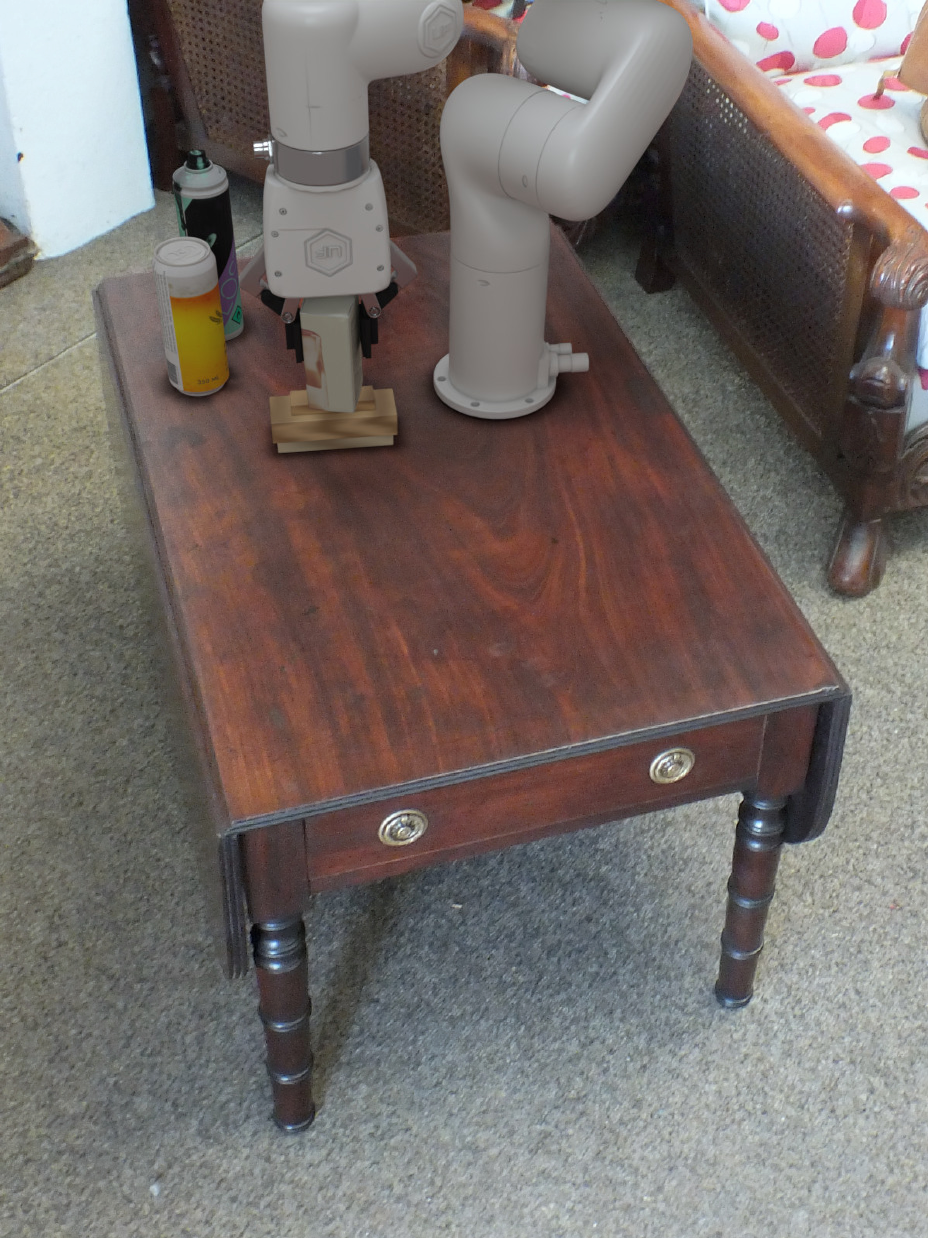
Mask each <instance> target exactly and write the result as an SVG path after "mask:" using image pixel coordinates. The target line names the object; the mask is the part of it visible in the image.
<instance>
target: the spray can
mask: <svg viewBox="0 0 928 1238" xmlns="http://www.w3.org/2000/svg"><path fill="white" fill-rule="evenodd" d="M172 191H173V198H174V204H175V205H174V206H175V211H176V219H177V226H178V233H179V237H194V238H198V239H201V240H203V241H205V242H206V243H208V245H209V246H210V249H211V251H212V252H213V254H214V255H215V258H216V266H217V275H218V283H219V292H220V300H221V308H222V317H223V325H224V334H225V342H227V341H229V340H232V339H235V338H236V337H239V336H240V335H241V333H243V331H244V328H245V327H244V326H245V325H244V315H243V306H242V305H243V304H242V295H241V288H240V286H239V268H238V260H237V259H238V258H237V251H236V241H235V231H234V222H233V212H232V205H231V197H230V185H229V179H228V177H227V172H226V170H225V168H223V167H222V166H220V165H217V164H215V163H213V162H212V160H211V159H209V158H208V157H207V154H206V150H204V149H196V150H191V151H188V152H187V159H186V161H185V162H184V163H183V165H182V166H181V167H179V168H177V169H176V170H175V171H174V172H173V173H172Z"/></svg>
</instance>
